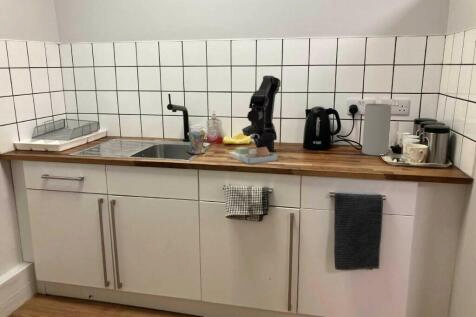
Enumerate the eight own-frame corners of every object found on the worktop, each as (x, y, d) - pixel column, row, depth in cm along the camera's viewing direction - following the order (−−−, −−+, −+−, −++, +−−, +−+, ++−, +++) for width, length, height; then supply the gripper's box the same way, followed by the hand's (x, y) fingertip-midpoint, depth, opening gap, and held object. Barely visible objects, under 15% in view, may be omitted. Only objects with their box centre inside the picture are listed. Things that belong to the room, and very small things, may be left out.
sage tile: (244, 151, 201) (244, 146, 201) (248, 153, 197) (248, 148, 197) (235, 152, 199) (235, 147, 199) (240, 154, 195) (240, 149, 194)
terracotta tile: (264, 149, 198) (266, 146, 196) (268, 157, 196) (270, 154, 194) (255, 150, 195) (257, 147, 194) (259, 159, 193) (261, 155, 191)
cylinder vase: (376, 157, 198) (380, 106, 192) (356, 152, 208) (359, 104, 202) (392, 154, 204) (396, 105, 198) (372, 149, 214) (376, 103, 209)
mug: (191, 150, 213) (190, 131, 211) (208, 151, 212) (207, 131, 209) (183, 155, 202) (183, 135, 200) (201, 156, 200) (200, 135, 198)
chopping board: (256, 152, 209) (256, 148, 208) (267, 156, 199) (267, 152, 199) (229, 155, 201) (229, 152, 201) (239, 160, 192) (239, 156, 191)
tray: (267, 156, 199) (267, 151, 199) (277, 160, 191) (277, 155, 191) (239, 160, 192) (239, 155, 191) (248, 164, 184) (248, 159, 184)
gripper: (235, 118, 198) (235, 149, 202) (254, 123, 182) (253, 156, 185) (255, 117, 203) (254, 147, 207) (274, 121, 187) (274, 154, 190)
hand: (258, 151), depth 197 cm, fingers closed
